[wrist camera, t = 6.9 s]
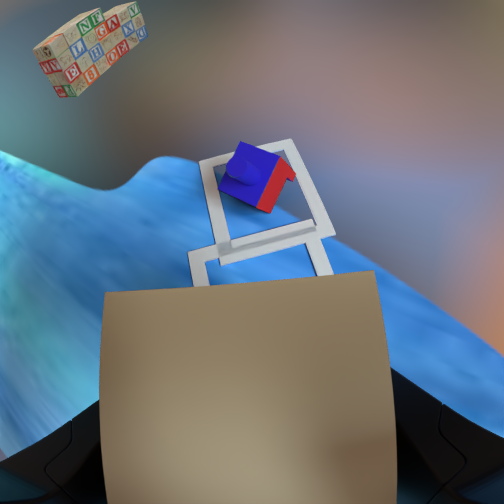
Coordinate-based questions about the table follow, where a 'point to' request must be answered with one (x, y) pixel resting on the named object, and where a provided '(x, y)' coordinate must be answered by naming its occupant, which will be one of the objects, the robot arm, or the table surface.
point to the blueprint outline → (264, 240)
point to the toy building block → (255, 176)
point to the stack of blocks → (89, 47)
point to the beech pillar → (248, 394)
